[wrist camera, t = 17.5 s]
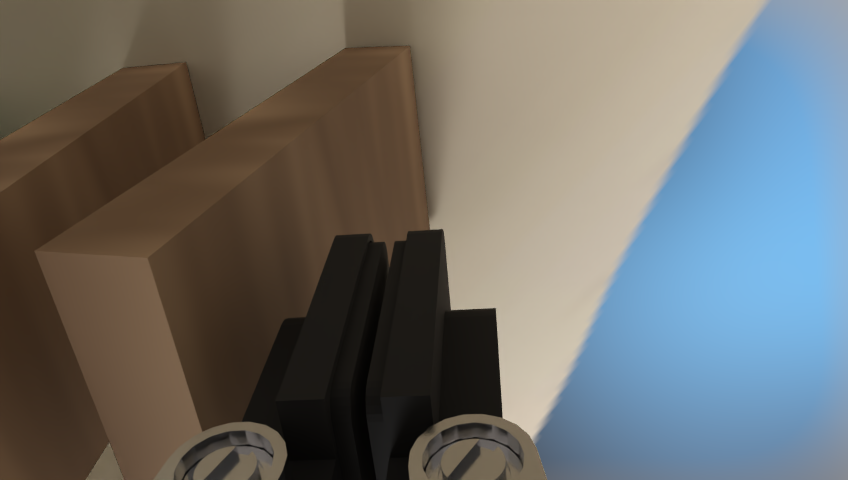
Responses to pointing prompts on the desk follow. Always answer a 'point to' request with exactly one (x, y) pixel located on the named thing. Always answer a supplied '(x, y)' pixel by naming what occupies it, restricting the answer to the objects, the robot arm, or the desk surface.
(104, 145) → the tile
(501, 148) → the desk surface
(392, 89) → the tile
